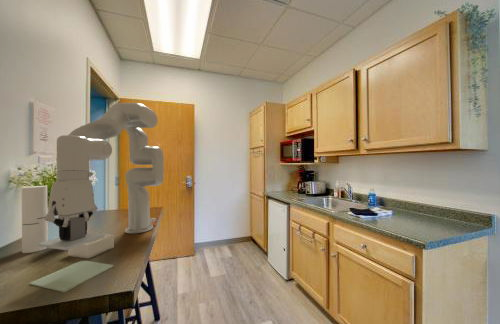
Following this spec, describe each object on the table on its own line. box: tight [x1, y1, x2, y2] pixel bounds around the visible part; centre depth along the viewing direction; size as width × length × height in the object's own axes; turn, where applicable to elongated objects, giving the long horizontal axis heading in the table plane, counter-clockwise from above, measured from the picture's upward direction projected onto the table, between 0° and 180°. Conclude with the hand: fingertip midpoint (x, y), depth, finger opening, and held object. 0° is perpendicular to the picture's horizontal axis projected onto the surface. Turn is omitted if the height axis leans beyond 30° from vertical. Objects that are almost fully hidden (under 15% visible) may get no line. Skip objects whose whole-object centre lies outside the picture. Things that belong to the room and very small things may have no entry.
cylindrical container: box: [21, 185, 49, 254], centre depth 83 cm, size 7×7×25 cm
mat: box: [29, 259, 115, 293], centre depth 63 cm, size 14×14×1 cm
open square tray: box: [67, 233, 115, 260], centre depth 79 cm, size 10×10×5 cm
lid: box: [39, 217, 106, 251], centre depth 63 cm, size 11×11×7 cm
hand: (73, 236), depth 62 cm, fingers closed on lid, 4 cm apart
